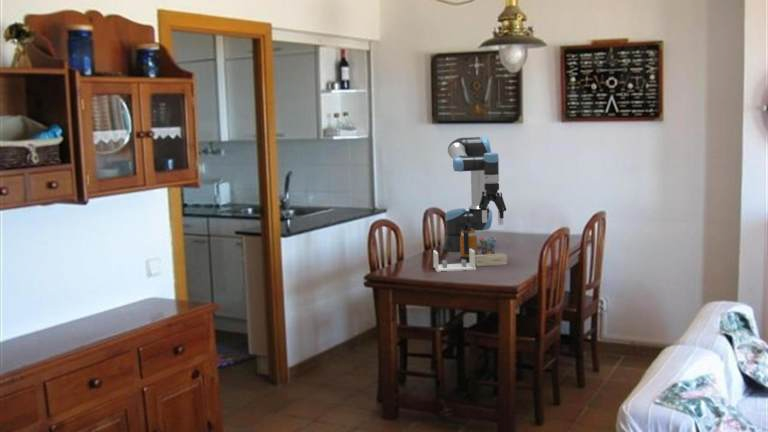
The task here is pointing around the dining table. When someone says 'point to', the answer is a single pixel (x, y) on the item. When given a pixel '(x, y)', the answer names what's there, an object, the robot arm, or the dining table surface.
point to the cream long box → (490, 259)
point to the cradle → (455, 267)
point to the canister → (467, 241)
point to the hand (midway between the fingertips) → (492, 223)
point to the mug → (487, 245)
